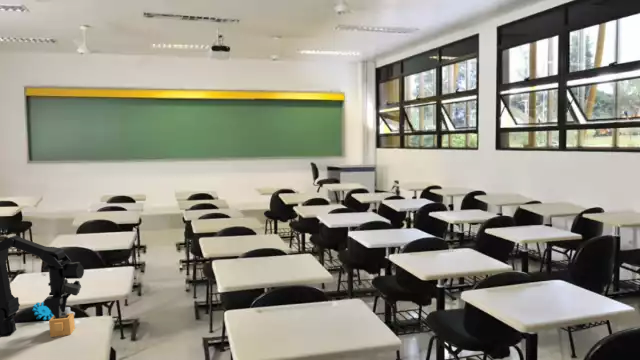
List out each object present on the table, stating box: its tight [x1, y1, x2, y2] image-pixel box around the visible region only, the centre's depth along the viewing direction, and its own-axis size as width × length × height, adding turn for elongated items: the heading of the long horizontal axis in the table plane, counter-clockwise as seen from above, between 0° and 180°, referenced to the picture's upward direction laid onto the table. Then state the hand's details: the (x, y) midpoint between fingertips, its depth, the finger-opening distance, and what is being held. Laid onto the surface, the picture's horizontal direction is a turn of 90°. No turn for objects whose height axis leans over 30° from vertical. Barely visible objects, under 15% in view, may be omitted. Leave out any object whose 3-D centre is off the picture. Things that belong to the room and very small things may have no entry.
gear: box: [32, 301, 54, 321], centre depth 226 cm, size 11×6×10 cm
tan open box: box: [48, 306, 76, 338], centre depth 211 cm, size 8×14×8 cm, turn 11°
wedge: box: [55, 313, 68, 319], centre depth 209 cm, size 4×2×8 cm, turn 101°
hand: (60, 314), depth 208 cm, fingers open, 7 cm apart
